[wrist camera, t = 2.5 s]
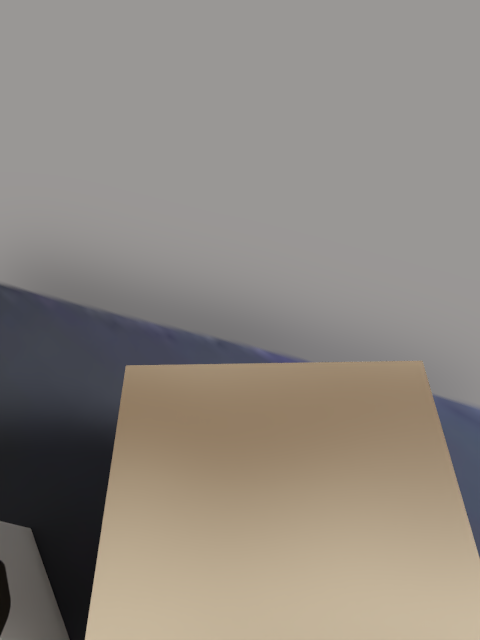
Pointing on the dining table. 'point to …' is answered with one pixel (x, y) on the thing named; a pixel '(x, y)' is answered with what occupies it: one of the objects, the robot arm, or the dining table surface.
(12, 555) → the box
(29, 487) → the dining table surface
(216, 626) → the wood block
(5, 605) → the robot arm
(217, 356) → the dining table surface
